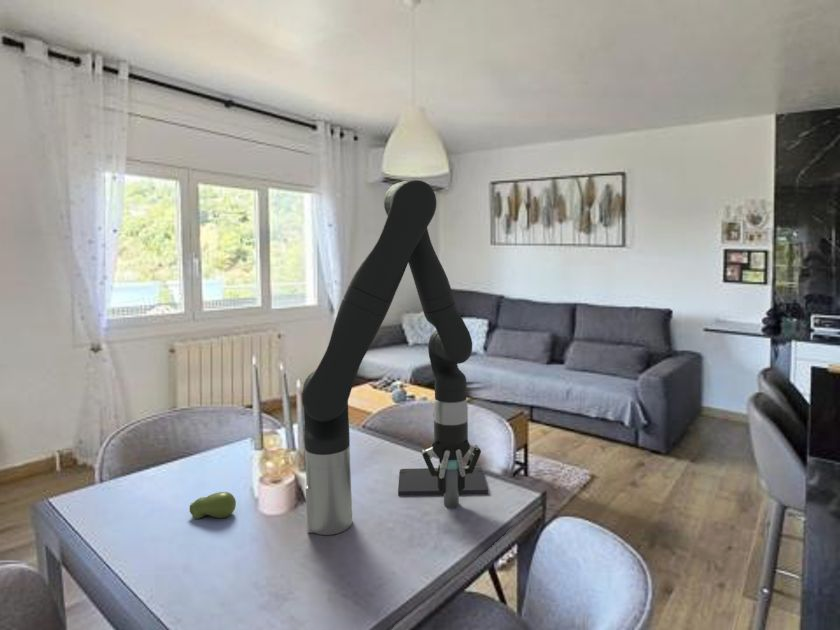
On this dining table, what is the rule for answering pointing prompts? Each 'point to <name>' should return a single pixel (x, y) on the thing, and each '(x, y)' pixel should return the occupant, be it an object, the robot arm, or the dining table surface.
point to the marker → (451, 484)
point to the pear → (214, 505)
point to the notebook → (428, 485)
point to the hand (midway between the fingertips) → (451, 490)
